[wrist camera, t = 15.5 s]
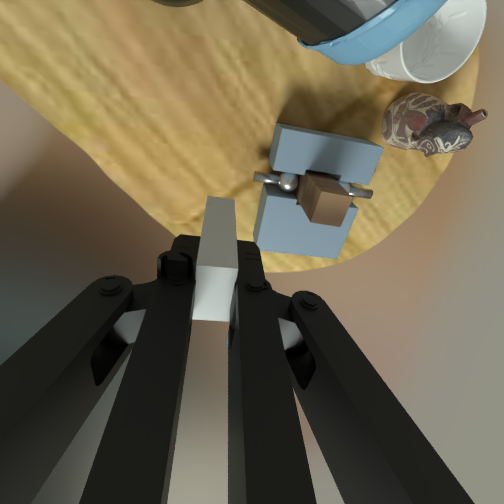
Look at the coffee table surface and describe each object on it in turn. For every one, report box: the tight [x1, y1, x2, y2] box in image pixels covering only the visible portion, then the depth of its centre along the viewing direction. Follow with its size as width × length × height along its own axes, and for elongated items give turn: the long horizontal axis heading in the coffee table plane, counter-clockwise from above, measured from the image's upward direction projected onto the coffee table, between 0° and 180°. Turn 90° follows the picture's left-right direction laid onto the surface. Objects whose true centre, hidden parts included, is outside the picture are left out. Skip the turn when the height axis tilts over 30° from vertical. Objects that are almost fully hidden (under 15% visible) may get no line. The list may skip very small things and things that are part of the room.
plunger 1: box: [253, 171, 298, 192], centre depth 38 cm, size 3×6×3 cm, turn 80°
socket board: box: [253, 123, 384, 259], centre depth 41 cm, size 18×14×5 cm
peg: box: [293, 169, 353, 227], centre depth 37 cm, size 4×4×12 cm
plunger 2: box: [336, 180, 373, 199], centre depth 40 cm, size 3×6×3 cm, turn 80°
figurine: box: [381, 93, 488, 157], centre depth 33 cm, size 7×7×12 cm
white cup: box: [365, 0, 487, 83], centre depth 29 cm, size 8×8×10 cm
